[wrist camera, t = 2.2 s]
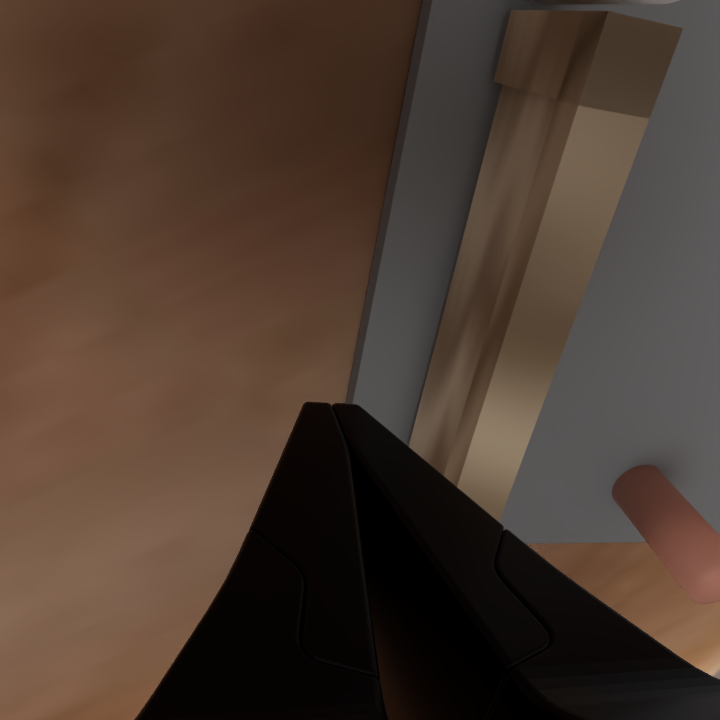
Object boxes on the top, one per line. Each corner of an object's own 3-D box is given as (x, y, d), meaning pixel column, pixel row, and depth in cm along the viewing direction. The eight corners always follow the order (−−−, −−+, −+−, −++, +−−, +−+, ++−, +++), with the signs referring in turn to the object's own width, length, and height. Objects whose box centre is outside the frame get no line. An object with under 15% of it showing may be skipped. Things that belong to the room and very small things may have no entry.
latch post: (648, 505, 29) (730, 602, 24) (604, 505, 28) (679, 604, 23) (669, 465, 28) (759, 559, 23) (623, 464, 27) (706, 560, 22)
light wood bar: (437, 471, 24) (481, 569, 20) (394, 470, 24) (430, 570, 20) (569, 22, 17) (683, 28, 13) (511, 9, 17) (608, 11, 12)
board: (730, 526, 32) (833, 634, 27) (321, 529, 27) (344, 664, 21) (1045, 12, 21) (1336, 15, 16) (452, -156, 16) (572, -245, 10)
